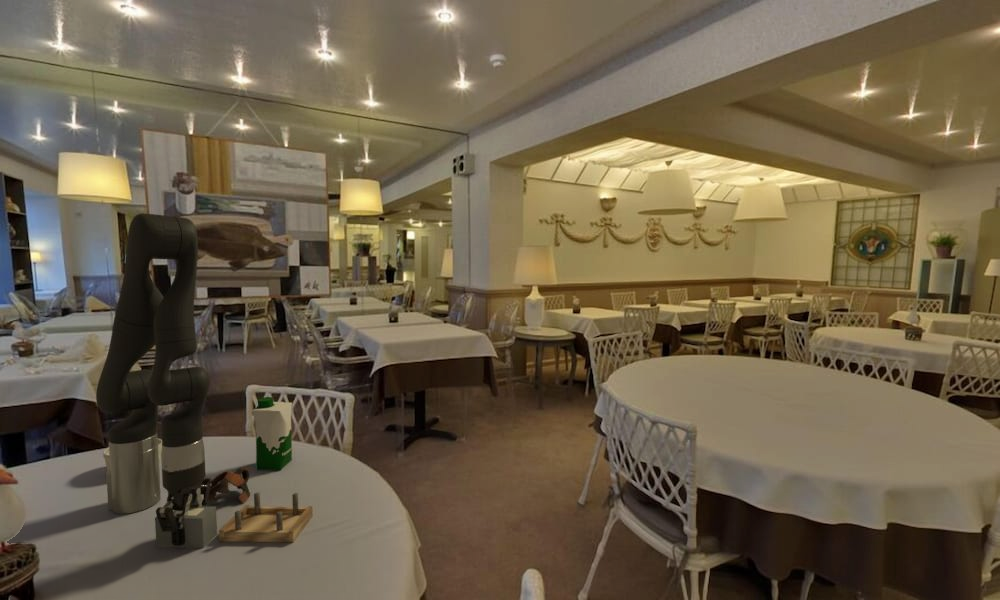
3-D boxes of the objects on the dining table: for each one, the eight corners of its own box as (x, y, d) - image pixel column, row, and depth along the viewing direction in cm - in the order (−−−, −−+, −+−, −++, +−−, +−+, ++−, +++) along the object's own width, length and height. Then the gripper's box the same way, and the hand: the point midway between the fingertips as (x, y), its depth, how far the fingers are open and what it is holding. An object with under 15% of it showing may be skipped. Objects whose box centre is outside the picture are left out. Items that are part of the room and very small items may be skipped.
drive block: (156, 546, 95) (154, 517, 94) (171, 533, 99) (170, 505, 99) (203, 547, 95) (202, 518, 94) (217, 534, 99) (215, 506, 99)
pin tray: (219, 541, 97) (218, 514, 96) (245, 514, 107) (244, 490, 106) (293, 542, 97) (292, 516, 96) (312, 516, 107) (312, 492, 106)
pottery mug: (239, 512, 109) (218, 487, 107) (210, 524, 111) (188, 500, 108) (266, 477, 120) (248, 454, 118) (239, 488, 122) (220, 466, 120)
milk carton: (267, 458, 137) (265, 394, 135) (296, 458, 137) (295, 395, 135) (251, 471, 128) (248, 403, 127) (282, 472, 128) (280, 404, 126)
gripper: (189, 446, 102) (192, 517, 104) (139, 477, 88) (143, 558, 90) (222, 447, 102) (224, 518, 104) (177, 477, 88) (181, 559, 90)
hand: (187, 536), depth 97 cm, fingers closed on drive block, 4 cm apart
